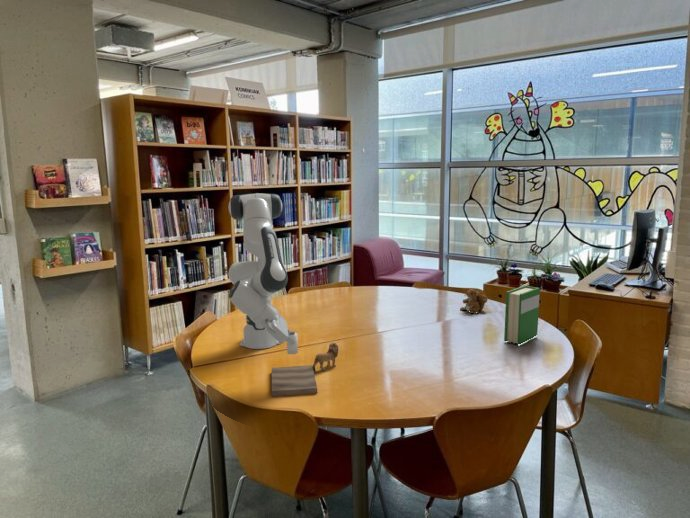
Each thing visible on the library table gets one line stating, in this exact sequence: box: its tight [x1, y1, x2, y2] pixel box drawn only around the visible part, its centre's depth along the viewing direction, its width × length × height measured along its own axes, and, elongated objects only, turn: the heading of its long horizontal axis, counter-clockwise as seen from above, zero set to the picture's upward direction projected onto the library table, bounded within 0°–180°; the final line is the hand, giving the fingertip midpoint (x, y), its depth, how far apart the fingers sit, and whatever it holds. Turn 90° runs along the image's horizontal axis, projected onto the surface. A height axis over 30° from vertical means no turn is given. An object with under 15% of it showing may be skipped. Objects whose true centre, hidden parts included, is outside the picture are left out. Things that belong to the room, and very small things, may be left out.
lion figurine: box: [312, 342, 339, 373], centre depth 201 cm, size 15×5×9 cm, turn 143°
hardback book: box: [503, 285, 541, 345], centre depth 232 cm, size 18×7×24 cm, turn 134°
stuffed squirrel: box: [459, 288, 489, 314], centre depth 283 cm, size 10×14×13 cm
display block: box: [271, 364, 318, 397], centre depth 188 cm, size 22×16×2 cm
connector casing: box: [286, 330, 299, 355], centre depth 186 cm, size 4×4×8 cm
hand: (293, 340), depth 186 cm, fingers closed on connector casing, 4 cm apart
